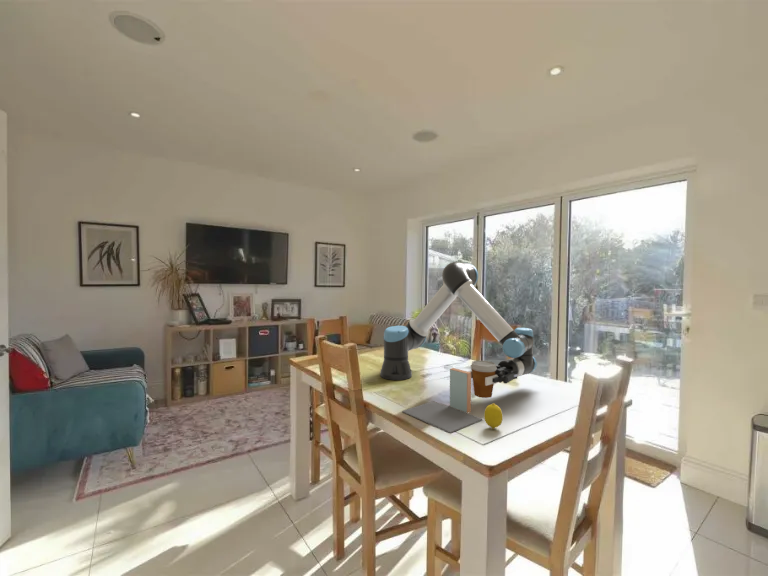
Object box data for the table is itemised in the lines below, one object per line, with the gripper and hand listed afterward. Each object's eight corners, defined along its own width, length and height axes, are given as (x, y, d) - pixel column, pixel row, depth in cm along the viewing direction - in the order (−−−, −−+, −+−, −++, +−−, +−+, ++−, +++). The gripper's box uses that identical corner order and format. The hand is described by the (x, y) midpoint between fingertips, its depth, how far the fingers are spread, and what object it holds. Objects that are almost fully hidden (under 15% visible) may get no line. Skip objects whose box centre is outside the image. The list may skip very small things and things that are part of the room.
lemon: (498, 424, 114) (498, 400, 114) (505, 432, 109) (505, 406, 108) (481, 425, 114) (481, 400, 114) (487, 432, 108) (487, 406, 108)
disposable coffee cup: (499, 399, 128) (500, 366, 128) (473, 399, 128) (474, 366, 128) (491, 390, 138) (492, 360, 137) (467, 390, 138) (467, 360, 137)
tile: (449, 406, 130) (449, 368, 130) (453, 405, 131) (453, 367, 131) (466, 413, 124) (467, 373, 123) (470, 411, 125) (471, 372, 125)
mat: (402, 411, 125) (402, 410, 125) (433, 401, 135) (433, 400, 135) (450, 433, 108) (450, 432, 108) (482, 420, 118) (482, 418, 118)
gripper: (534, 384, 136) (500, 396, 122) (487, 372, 152) (453, 381, 138) (535, 365, 136) (501, 375, 121) (488, 354, 152) (453, 362, 138)
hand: (475, 378), depth 130 cm, fingers closed on disposable coffee cup, 8 cm apart
